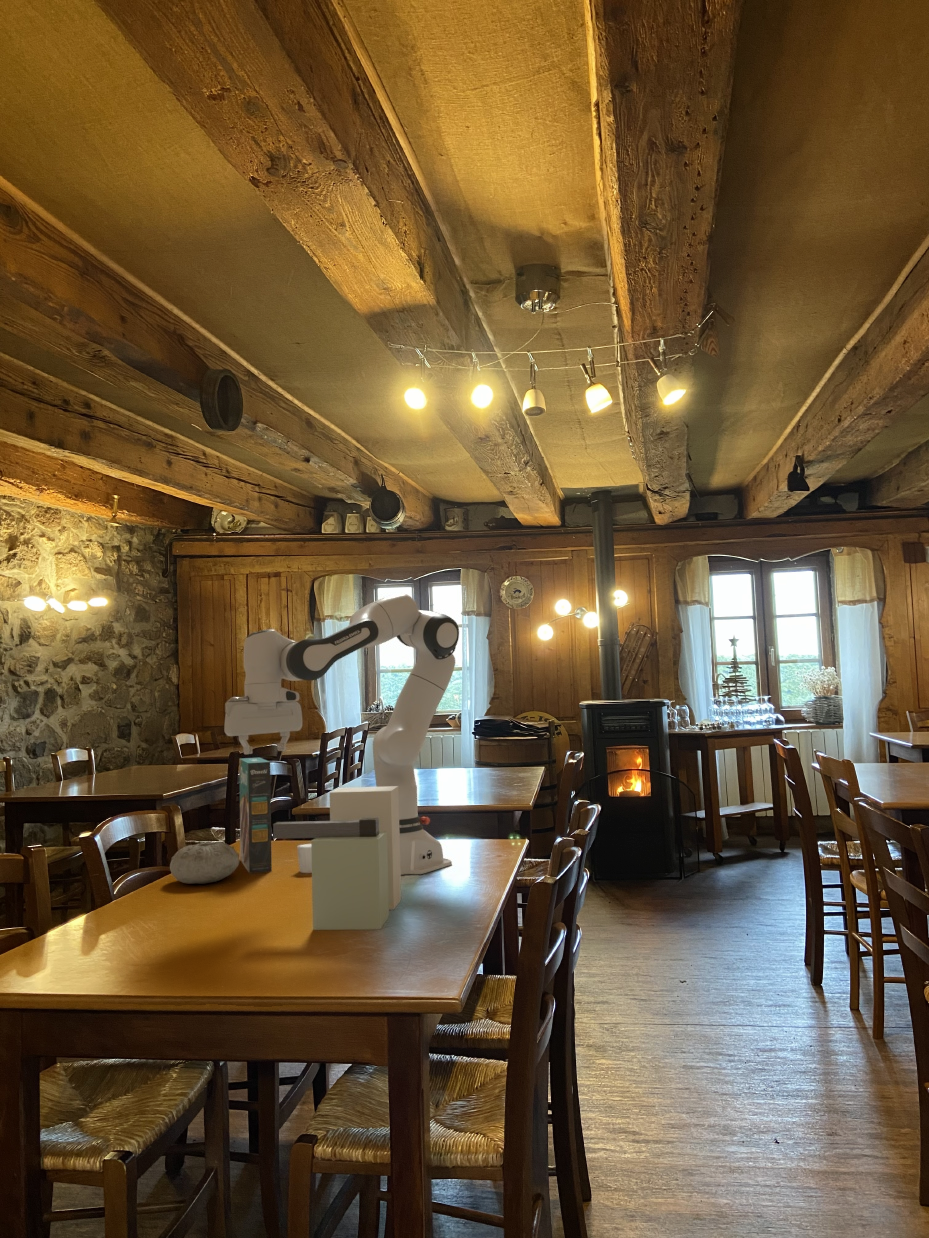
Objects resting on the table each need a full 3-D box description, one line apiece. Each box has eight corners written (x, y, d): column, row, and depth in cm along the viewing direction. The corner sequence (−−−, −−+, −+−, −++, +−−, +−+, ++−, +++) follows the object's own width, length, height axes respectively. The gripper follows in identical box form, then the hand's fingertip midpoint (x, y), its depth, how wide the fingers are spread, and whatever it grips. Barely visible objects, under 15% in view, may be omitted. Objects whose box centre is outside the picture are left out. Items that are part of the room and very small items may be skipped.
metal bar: (273, 838, 185) (272, 821, 185) (278, 836, 188) (277, 819, 189) (376, 836, 183) (375, 819, 183) (379, 833, 187) (378, 817, 187)
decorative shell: (165, 879, 236) (165, 841, 237) (231, 871, 244) (231, 835, 245) (176, 891, 220) (176, 851, 221) (247, 882, 228) (246, 843, 229)
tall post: (331, 910, 195) (329, 792, 197) (342, 899, 205) (339, 787, 207) (393, 909, 194) (390, 790, 196) (401, 899, 204) (398, 786, 206)
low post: (312, 929, 179) (311, 840, 181) (325, 917, 189) (323, 832, 191) (380, 929, 178) (378, 839, 180) (389, 916, 188) (386, 831, 190)
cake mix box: (240, 860, 261) (239, 758, 263) (261, 858, 263) (259, 757, 266) (249, 873, 240) (248, 763, 243) (271, 871, 243) (270, 761, 245)
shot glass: (317, 873, 237) (316, 847, 238) (293, 873, 238) (293, 847, 239) (326, 868, 244) (326, 842, 244) (303, 868, 245) (302, 842, 246)
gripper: (232, 697, 205) (234, 756, 204) (304, 693, 220) (307, 748, 219) (218, 697, 210) (220, 756, 208) (290, 694, 224) (292, 748, 223)
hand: (265, 752), depth 214 cm, fingers open, 8 cm apart
